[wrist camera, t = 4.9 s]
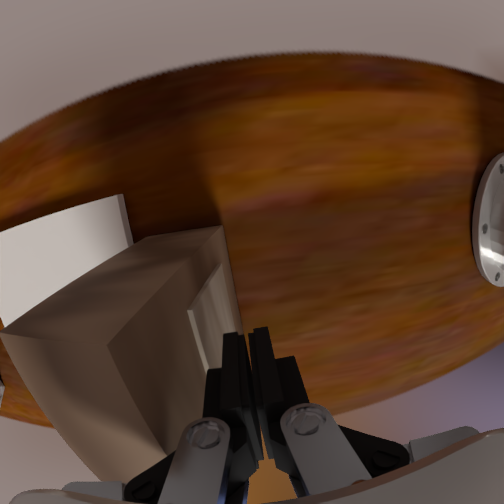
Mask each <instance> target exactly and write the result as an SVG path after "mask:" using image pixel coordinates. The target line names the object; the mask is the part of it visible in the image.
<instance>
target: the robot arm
mask: <svg viewBox="0 0 504 504" xmlns="http://www.w3.org/2000/svg"><path fill="white" fill-rule="evenodd" d="M472 239H473V250H474V256H475V260H476V263H477V267H478V269H479V271H480V273H481V275H482V276H483V277H484V278H485V279H486V280H487V281H489V282H490V283H492V284H494V285H496V286H500V287H503V286H504V152H503V153H500V154H498V155H497V156H496V157H495V158H493V159H492V161H491V162H490V163H489V165H488V166H487V168H486V170H485V172H484V174H483V176H482V178H481V181H480V184H479V187H478V191H477V195H476V199H475V204H474V212H473V223H472ZM253 330H254V333H248V336H249V346H250V356H251V365H250V361H249V356H248V351H247V346H246V342H245V337H244V334H242V335H239V334H238V331H236V332H230V333H224V334H223V346H222V367H221V368H213V369H208V370H207V375H206V384H205V394H204V404H203V414H202V418H201V419H197V420H195V421H193V422H191V423H190V424H189V425H187V426H186V427H185V429H184V430H183V432H182V435H181V437H180V440H179V443H178V446H177V449H176V450H175V451H174V452H173V453H171V454H170V455H168V456H167V457H165V458H164V459H162V460H161V461H159V462H158V463H156V464H155V465H153V466H152V467H150V468H148V469H147V470H145V471H144V472H142V473H141V474H139V475H137V476H136V477H134V478H133V479H131V480H130V481H129V482H128V483H124V482H123V481H103V482H71V483H68V484H67V485H65V486H64V487H63V488H62V490H56V489H36V490H28V491H25V492H21V493H20V494H17V495H16V496H15V497H14V498H13V499H12V500H11V502H10V503H9V504H247V497H248V488H249V477H250V476H251V475H252V474H253V473H255V472H256V469H258V468H259V464H258V461H259V460H264V457H263V448H262V439H261V431H260V425H261V429H262V434H263V438H264V442H265V446H266V450H267V454H268V457H269V459H273V458H274V460H275V464H276V468H278V469H279V470H281V471H283V472H285V473H287V474H289V479H290V481H291V484H292V486H293V488H294V491H295V493H296V496H297V498H296V499H290V500H285V501H278V502H271V503H263V504H504V428H500V429H495V430H490V431H486V432H483V433H479V432H478V430H476V429H474V428H473V427H468V426H464V427H459V428H456V429H452V430H449V431H446V432H442V433H439V434H435V435H431V436H427V437H423V438H419V439H415V440H410V441H409V444H404V445H401V444H398V443H396V442H393V441H389V440H386V439H382V438H379V437H375V436H371V435H368V434H365V433H362V432H359V431H355V430H352V429H349V428H346V427H343V426H340V425H337V423H336V422H335V420H334V418H333V417H332V415H331V414H330V412H329V411H328V410H327V409H326V408H325V407H323V406H321V405H319V404H314V403H309V400H308V396H307V393H306V390H305V387H304V384H303V381H302V378H301V375H300V372H299V369H298V366H297V363H296V360H295V357H294V356H289V357H284V358H279V359H275V358H274V353H273V349H272V344H271V340H270V335H269V331H268V327H261V328H255V329H253ZM251 366H252V370H251ZM259 421H260V422H259Z"/></svg>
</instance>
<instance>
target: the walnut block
mask: <svg viewBox="0 0 504 504" xmlns="http://www.w3.org/2000/svg"><path fill="white" fill-rule="evenodd" d="M236 331H238V334H239V335H242V334H244V333H243V328H242V324H241V319H240V314H239V309H238V304H237V298H236V293H235V288H234V283H233V278H232V273H231V267H230V262H229V257H228V251H227V246H226V240H225V235H224V230H223V225H219V226H212V227H205V228H199V229H192V230H186V231H179V232H173V233H166V234H160V235H154V236H148V237H145V238H144V239H142V240H140V241H138V242H137V243H135V244H133V245H132V246H130V247H128V248H126V249H125V250H123V251H121V252H120V253H118V254H116V255H114V256H113V257H111V258H109V259H108V260H106V261H104V262H103V263H101V264H100V265H98V266H96V267H95V268H93V269H91V270H90V271H88V272H87V273H85V274H83V275H82V276H80V277H79V278H77V279H75V280H74V281H72V282H71V283H69V284H68V285H66V286H65V287H63V288H61V289H60V290H58V291H57V292H55V293H54V294H52V295H51V296H49V297H48V298H46V299H45V300H43V301H42V302H40V303H39V304H38V305H36V306H35V307H33V308H32V309H30V310H29V311H27V312H26V313H25V314H23V315H22V316H20V317H19V318H17V319H16V320H15V321H13V322H12V323H11V324H9V325H8V326H6V327H5V328H4V329H2V330H1V331H0V337H1V339H2V341H3V343H4V346H5V348H6V350H7V352H8V354H9V356H10V358H11V359H12V361H13V363H14V365H15V367H16V369H17V371H18V372H19V374H20V376H21V378H22V379H23V381H24V383H25V384H26V386H27V388H28V389H29V391H30V393H31V394H32V396H33V397H34V399H35V400H36V402H37V403H38V405H39V406H40V408H41V409H42V411H43V412H44V414H45V415H46V416H47V418H48V419H49V421H50V422H51V423H52V425H53V426H54V427H55V429H56V430H57V431H58V433H59V434H60V435H61V436H62V438H63V439H64V440H65V441H66V443H67V444H68V445H69V446H70V448H71V449H72V450H73V451H74V452H75V453H76V455H77V456H78V457H79V458H80V459H81V460H82V461H83V462H84V464H85V465H86V466H87V467H88V468H89V469H90V470H91V471H92V472H93V473H94V474H95V475H96V476H97V477H98V478H99V479H100V480H101V481H123V482H124V483H128V482H129V481H130V480H131V479H133V478H134V477H136V476H137V475H139V474H141V473H142V472H144V471H145V470H147V469H148V468H150V467H152V466H153V465H155V464H156V463H158V462H159V461H161V460H162V459H164V458H165V457H167V456H168V455H170V454H171V453H173V452H174V451H175V450H176V449H177V446H178V443H179V440H180V437H181V435H182V432H183V430H184V429H185V427H186V426H187V425H189V424H190V423H191V422H193V421H195V420H197V419H201V418H202V414H203V404H204V394H205V384H206V375H207V370H208V369H213V368H221V367H222V346H223V334H224V333H230V332H236Z"/></svg>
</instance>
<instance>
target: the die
mask: <svg viewBox="0 0 504 504" xmlns="http://www.w3.org/2000/svg"><path fill="white" fill-rule="evenodd" d="M4 388H5V386H4V385H3V383H2V382H1V380H0V406H1V401H2V397H3V392H4Z"/></svg>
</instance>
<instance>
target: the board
mask: <svg viewBox="0 0 504 504" xmlns="http://www.w3.org/2000/svg"><path fill="white" fill-rule="evenodd" d="M133 244H134V243H133V238H132V234H131V230H130V225H129V221H128V216H127V212H126V207H125V202H124V197H123V194H119V195H115V196H111V197H107V198H104V199H100V200H96V201H93V202H89V203H86V204H82V205H79V206H76V207H72V208H69V209H66V210H63V211H60V212H56V213H53V214H50V215H47V216H44V217H41V218H38V219H35V220H32V221H30V222H27V223H24V224H21V225H18V226H16V227H13V228H10V229H8V230H5V231H2V232H0V317H1V319H2V322H3V324H4V326H5V327H6V326H8V325H9V324H11V323H12V322H13V321H15V320H16V319H17V318H19V317H20V316H22V315H23V314H25V313H26V312H27V311H29V310H30V309H32V308H33V307H35V306H36V305H38V304H39V303H40V302H42V301H43V300H45V299H46V298H48V297H49V296H51V295H52V294H54V293H55V292H57V291H58V290H60V289H61V288H63V287H65V286H66V285H68V284H69V283H71V282H72V281H74V280H75V279H77V278H79V277H80V276H82V275H83V274H85V273H87V272H88V271H90V270H91V269H93V268H95V267H96V266H98V265H100V264H101V263H103V262H104V261H106V260H108V259H109V258H111V257H113V256H114V255H116V254H118V253H120V252H121V251H123V250H125V249H126V248H128V247H130V246H132V245H133Z"/></svg>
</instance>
